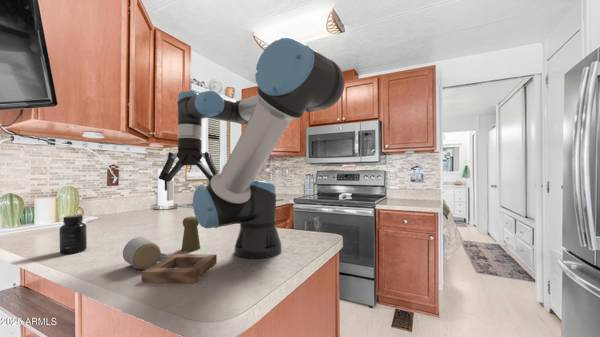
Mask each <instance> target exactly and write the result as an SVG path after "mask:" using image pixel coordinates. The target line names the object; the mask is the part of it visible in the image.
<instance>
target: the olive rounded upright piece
mask: <svg viewBox="0 0 600 337" xmlns="http://www.w3.org/2000/svg"><path fill="white" fill-rule="evenodd" d="M198 225H200V224H199V223H198V221H197V219H196V216H187V217H186V216H185V217H184V218H183V219H182V226H183V237H182V244H181V249H180V251H181V250H182V251H181V252H184V251H190V252H196V251H198V249H199V250H200V249H201V243H200V235H199V229H198ZM195 250H196V251H195Z"/></svg>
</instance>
